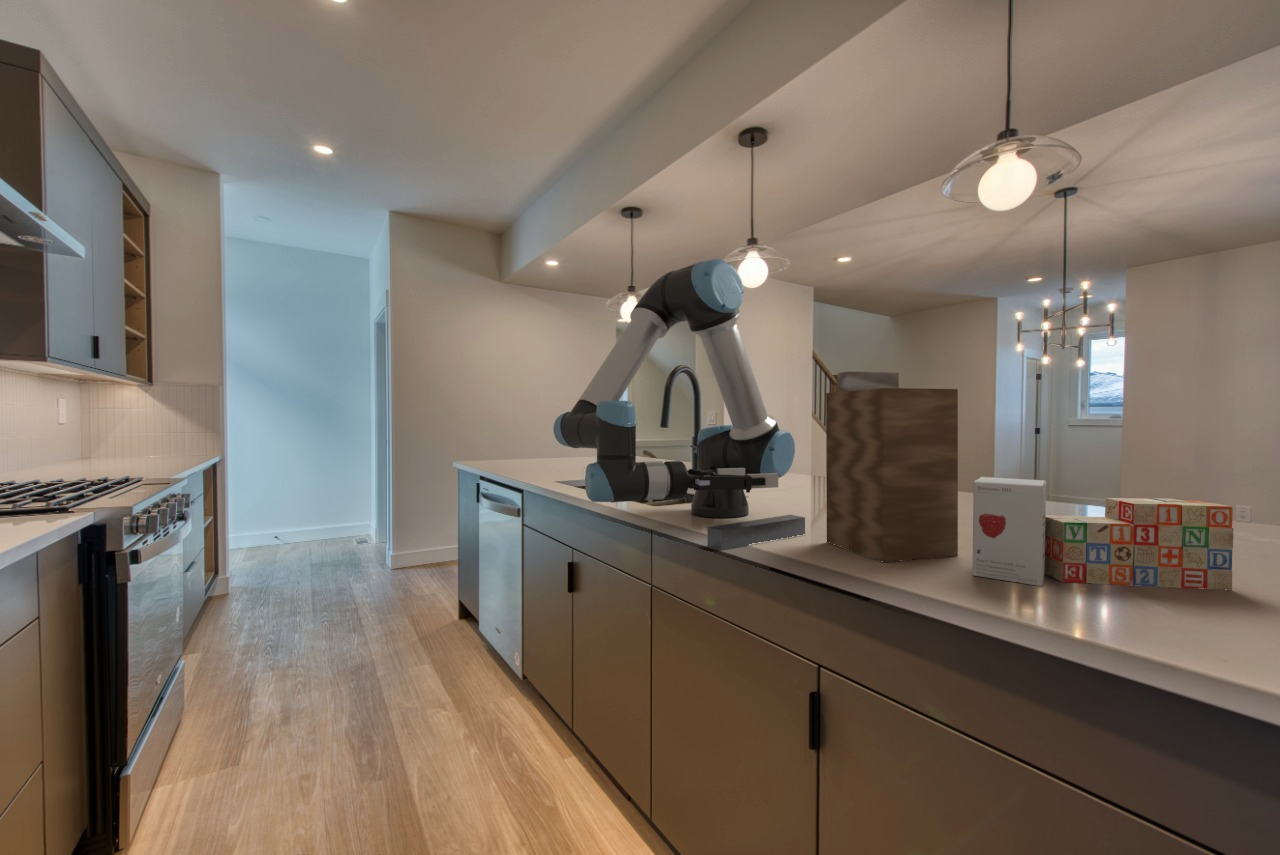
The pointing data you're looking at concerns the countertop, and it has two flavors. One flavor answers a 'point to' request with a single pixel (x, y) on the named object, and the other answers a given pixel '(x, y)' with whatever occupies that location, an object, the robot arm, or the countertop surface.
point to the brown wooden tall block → (892, 468)
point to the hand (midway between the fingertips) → (760, 477)
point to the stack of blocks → (1144, 544)
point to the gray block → (754, 531)
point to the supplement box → (1009, 529)
